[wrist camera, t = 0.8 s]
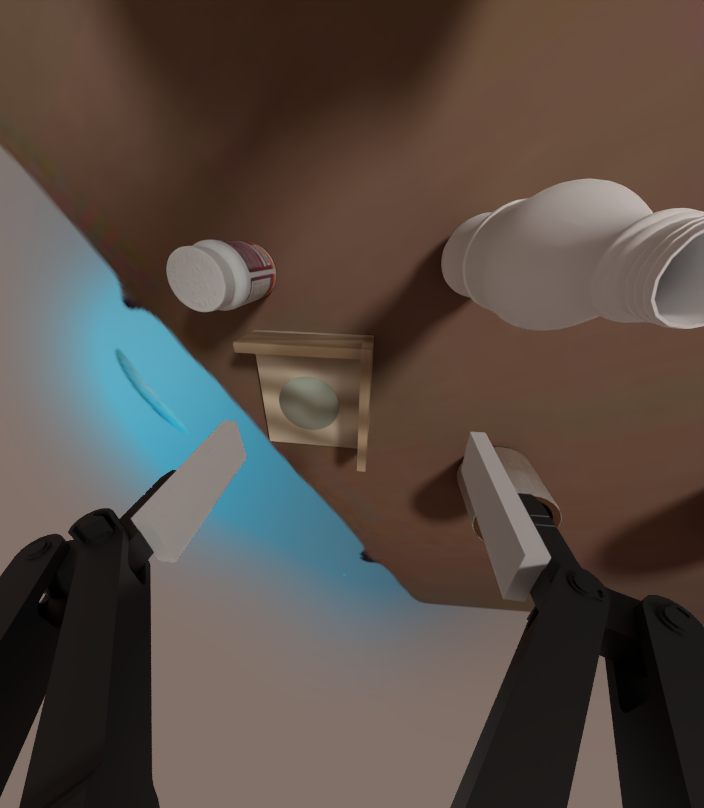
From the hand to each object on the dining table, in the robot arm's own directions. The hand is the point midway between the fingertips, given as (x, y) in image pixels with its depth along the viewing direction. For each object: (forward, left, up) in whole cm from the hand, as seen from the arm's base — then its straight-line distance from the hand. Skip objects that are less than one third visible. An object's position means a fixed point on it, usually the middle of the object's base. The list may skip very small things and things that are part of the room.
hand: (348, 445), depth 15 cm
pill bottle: (-7, -14, -23) cm, 28 cm away
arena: (+9, -7, -22) cm, 25 cm away
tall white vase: (-9, +11, -23) cm, 27 cm away
